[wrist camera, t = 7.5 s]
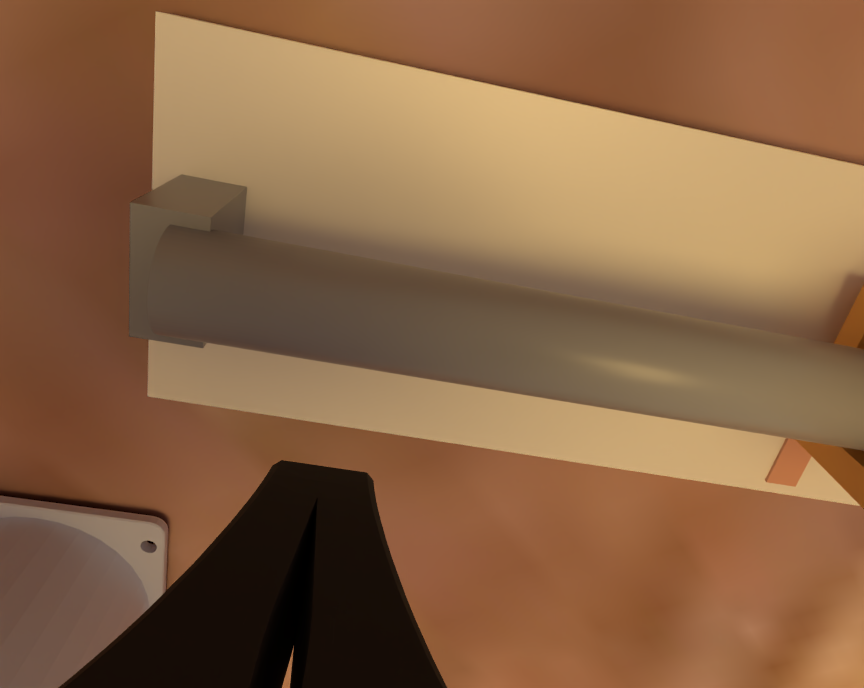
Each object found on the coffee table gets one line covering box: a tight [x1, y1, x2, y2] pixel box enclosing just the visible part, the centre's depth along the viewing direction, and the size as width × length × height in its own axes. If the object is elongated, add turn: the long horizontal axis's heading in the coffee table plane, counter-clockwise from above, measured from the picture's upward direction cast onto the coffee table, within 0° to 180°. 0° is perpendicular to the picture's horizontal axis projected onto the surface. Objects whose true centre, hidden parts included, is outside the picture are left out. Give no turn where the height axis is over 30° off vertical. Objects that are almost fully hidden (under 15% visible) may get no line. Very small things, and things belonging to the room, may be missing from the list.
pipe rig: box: [129, 11, 864, 506], centre depth 16 cm, size 27×10×6 cm, turn 79°
